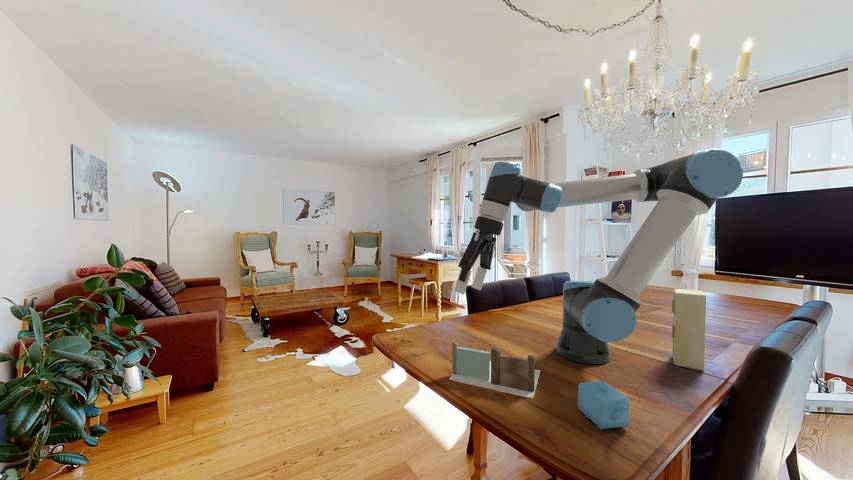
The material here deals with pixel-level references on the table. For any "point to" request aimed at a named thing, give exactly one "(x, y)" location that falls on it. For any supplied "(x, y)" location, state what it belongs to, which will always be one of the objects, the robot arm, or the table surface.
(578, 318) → the robot arm
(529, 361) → the fixed fence
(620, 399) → the teapot
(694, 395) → the table surface
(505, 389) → the card
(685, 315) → the toy refrigerator
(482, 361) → the swing panel
